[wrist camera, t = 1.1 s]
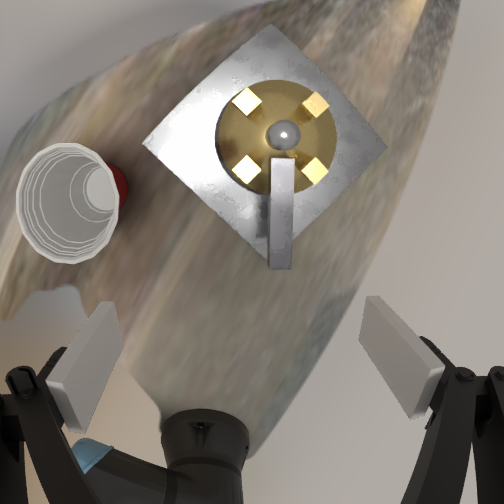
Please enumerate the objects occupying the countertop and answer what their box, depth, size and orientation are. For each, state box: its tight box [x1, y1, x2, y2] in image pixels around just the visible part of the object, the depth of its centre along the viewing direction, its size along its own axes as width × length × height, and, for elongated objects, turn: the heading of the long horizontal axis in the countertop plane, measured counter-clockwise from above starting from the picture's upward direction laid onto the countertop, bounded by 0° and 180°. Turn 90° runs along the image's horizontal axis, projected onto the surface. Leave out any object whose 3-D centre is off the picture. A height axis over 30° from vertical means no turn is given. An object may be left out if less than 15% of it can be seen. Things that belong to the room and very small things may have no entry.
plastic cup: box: [16, 143, 128, 264], centre depth 29 cm, size 11×11×12 cm
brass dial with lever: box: [218, 80, 337, 270], centre depth 28 cm, size 18×11×6 cm, turn 0°
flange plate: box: [142, 24, 388, 260], centre depth 32 cm, size 20×20×4 cm
